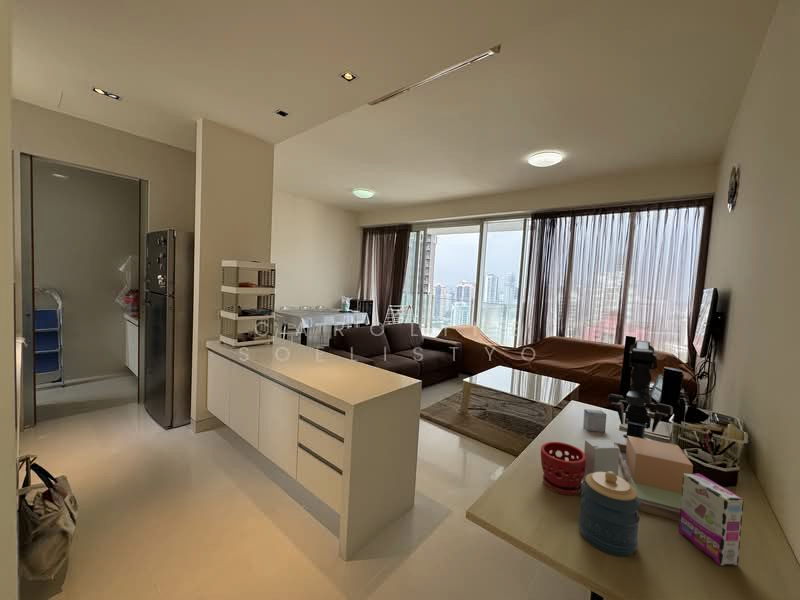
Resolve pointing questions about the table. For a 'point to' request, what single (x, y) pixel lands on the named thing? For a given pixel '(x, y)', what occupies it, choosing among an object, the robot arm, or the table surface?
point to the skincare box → (601, 457)
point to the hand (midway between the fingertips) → (637, 428)
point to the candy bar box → (711, 518)
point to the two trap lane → (652, 494)
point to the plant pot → (563, 467)
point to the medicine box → (594, 420)
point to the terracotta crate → (657, 464)
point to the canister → (609, 513)
